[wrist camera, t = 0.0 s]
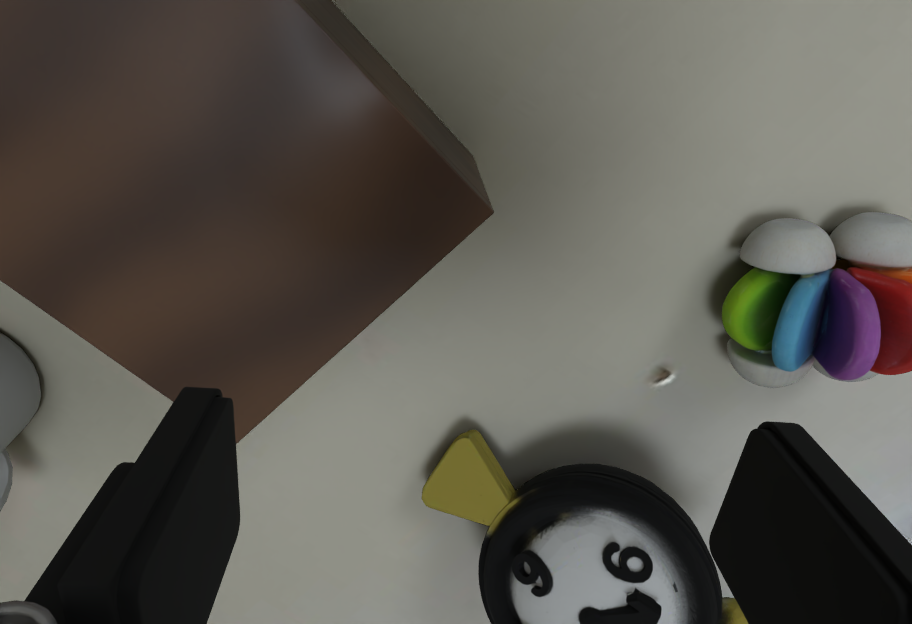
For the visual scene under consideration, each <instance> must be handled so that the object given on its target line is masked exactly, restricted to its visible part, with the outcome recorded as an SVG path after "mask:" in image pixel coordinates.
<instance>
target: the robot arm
mask: <svg viewBox="0 0 912 624" xmlns="http://www.w3.org/2000/svg"><path fill="white" fill-rule="evenodd" d="M239 525H240V505H239V489H238V472H237V456H236V440H235V423H234V407H233V401H232V399H231V398H225V397H223V396H222V392H221V390H220V389H217V388H201V387H184V388H183V389H182V390H181V392H180V393H179V395H178V396H177V398H176V399H175V401H174V402H173V404H172V406H171V407H170V409H169V410H168V412H167V413H166V415H165V417H164V418H163V420H162V421H161V423H160V424H159V426H158V427H157V429H156V431H155V432H154V434H153V435H152V437H151V438H150V440H149V442H148V443H147V445H146V446H145V448H144V449H143V451H142V452H141V454H140V456H139V457H138V459H137V460H136V462H135V463H127V462H123V463H121V464H119V465H117V467H116V468H115V469H114V470H113V471H112V472H111V474H110V475H109V477H108V478H107V480H106V481H105V483H104V484H103V486H102V487H101V489H100V490H99V492H98V493H97V495H96V496H95V497H94V499H93V500H92V502H91V503H90V505H89V506H88V508H87V509H86V511H85V512H84V514H83V515H82V517H81V518H80V520H79V521H78V523H77V524H76V526H75V527H74V528H73V530H72V531H71V533H70V534H69V536H68V537H67V539H66V540H65V542H64V543H63V545H62V546H61V548H60V549H59V551H58V552H57V554H56V555H55V557H54V558H53V559H52V561H51V562H50V564H49V565H48V567H47V568H46V570H45V571H44V573H43V574H42V576H41V577H40V579H39V580H38V582H37V583H36V585H35V586H34V588H33V589H32V590H31V592H30V593H29V595H28V596H27V598H26V599H25V601H9V602H2V603H0V624H207V621H208V618H209V615H210V612H211V610H212V607H213V604H214V601H215V598H216V595H217V593H218V590H219V587H220V584H221V581H222V578H223V576H224V573H225V570H226V567H227V564H228V561H229V559H230V556H231V553H232V550H233V547H234V544H235V542H236V539H237V535H238V531H239ZM709 544H710V551H711V554H712V556H713V558H714V560H715V562H716V564H717V566H718V568H719V570H720V571H721V573H722V575H723V577H724V579H725V581H726V583H727V585H728V586H729V588H730V590H731V592H732V594H733V596H734V598H735V599H736V601H737V603H738V605H739V607H740V609H741V611H742V612H743V614H744V616H745V618H746V620H747V622H748V624H912V545H911V544H910V543H909V542H908V541H907V540H906V539H905V538H904V537H903V535H902V534H901V533H900V532H899V531H898V530H897V529H896V528H895V527H894V526H893V525H892V524H891V523H890V521H889V520H888V519H887V518H886V517H885V516H884V515H883V514H882V513H881V512H880V511H879V510H878V508H877V507H876V506H875V505H874V504H873V503H872V502H871V501H870V500H869V499H868V498H867V497H866V495H865V494H864V493H863V492H862V491H861V490H860V489H859V488H858V487H857V486H856V485H855V484H854V482H853V481H852V480H851V479H850V478H849V477H848V476H847V475H846V474H845V473H844V472H843V471H842V470H841V468H840V467H839V466H838V465H837V464H836V463H835V462H834V461H833V460H832V459H831V458H830V457H829V455H828V454H827V453H826V452H825V451H824V450H823V449H822V448H821V447H820V446H819V445H818V444H817V442H816V441H815V440H814V439H813V438H812V437H811V436H810V435H809V434H808V433H807V432H806V431H805V429H804V428H803V427H801V426H800V425H799V424H795V423H783V422H763V423H762V424H761V425H759V427H758V429H754V430H752V431H751V432H750V434H749V436H748V439H747V441H746V444H745V446H744V449H743V452H742V454H741V457H740V459H739V462H738V464H737V467H736V470H735V472H734V475H733V477H732V480H731V483H730V485H729V488H728V490H727V493H726V495H725V498H724V501H723V503H722V506H721V508H720V511H719V514H718V516H717V519H716V521H715V524H714V527H713V529H712V532H711V535H710V540H709Z"/></svg>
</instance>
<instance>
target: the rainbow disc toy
mask: <svg viewBox="0 0 912 624" xmlns="http://www.w3.org/2000/svg"><path fill="white" fill-rule="evenodd" d="M836 256H838V257H842V258H844V259H840V260H836ZM740 257H741V259H742V260H743V261H744V262H746V263H747V264H749V265H752V266H754V267H755V268H753V269H751V270H750V271H749V272H748V273H746V274H745V275H744V276H743V277H742V278H741V279H740V280H739V281H738V282H737V283H736V284H735V285H734V286H733V287H732V289H731V290H730V292H729V293H728V295H727V297H726V299H725V301H724V303H723V307H722V321H723V325H724V328H725V330H726V332H727V333H728V334H729V336H730V337H731V338H730V340H729V341H728V344H727V351H728V356H729V359H730V362H731V364H732V366H733V367H734V369H735V370H736V371H737V372H738V373H739V374H740V375H741V376H742V377H743V378H745V379H746V380H748V381H749V382H751V383H753V384H756V385H759V386H763V387H771V388H776V387H783V386H787V385H790V384H793V383H795V382H797V381H798V380H800V379H801V378H803V377H804V376H805V375H806V374H807V373H808V372H809V370H810V369H811V367H812V366H813V367H814V368H815V369H816V370H817V371H819V372H820V373H822V374H823V375H825V376H827V377H830V378H832V379H836V380H840V381H846V382H856V381H863V380H866V379H870V378H872V377H874V376H876V375H878V374H884V375H896V374H902V373H907V372H910V371H912V221H911V220H909V219H907V218H905V217H902V216H899V215H895V214H889V213H880V212H865V213H860V214H857V215H855V216H852V217H850V218H848V219H846V220H845V221H843V222H842V223H841V224H839V225H838V226H837V227H836V228H835V229H834V231H833V232H832V233H831V235H830V236H828V234H827V233H826V232H825V231H824V230H823V229H822V228H821V227H819V226H818V225H816V224H814V223H812V222H810V221H806V220H801V219H795V218H780V219H774V220H771V221H768V222H766V223H764V224H762V225H760V226H759V227H757V228H756V229H755V230H753V231H752V232H751V233H750V234H749V236H748V237H747V238H746V240H745V242H744V243H743V245H742V248H741V250H740ZM831 268H832V269H831Z"/></svg>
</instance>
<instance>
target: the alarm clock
mask: <svg viewBox="0 0 912 624" xmlns="http://www.w3.org/2000/svg"><path fill="white" fill-rule="evenodd" d="M422 500H423V502H424V503H425V505H426V506H428V507H430V508H433V509H436V510H439V511H442V512H445V513H449V514H452V515H455V516H458V517H461V518H464V519H467V520H471V521H474V522H477V523H480V524H484V525H487V526H489V528H488V531H487V533H486V536H485V539H484V541H483V544H482V548H481V553H480V559H479V585H480V591H481V596H482V601H483V604H484V607H485V610H486V613H487V615H488V618H489V620H490V622H491V624H748V622H747V620H746V618H745V616H744V614H743V612H742V611H741V609H740V607H739V605H738V603H737V601H736V599H735V598H729V597H724V598H722V592H721V586H720V581H719V577H718V573H717V570H716V567H715V564H714V562H713V559H712V557H711V555H710V553H709V551H708V549H707V546H706V544H705V542H704V541H703V539H702V537H701V535H700V533H699V531H698V529H697V528H696V526H695V524H694V523H693V521H692V520H691V518H690V517H689V516H688V515H687V514H686V512H685V511H684V510H683V509H682V508H681V507H680V506H679V505H678V504H677V502H676V501H675V500H674V499H673V498H671V497H670V496H669V495H668V494H666V493H665V492H664V491H662V490H661V489H660V488H659V487H657V486H656V485H655V484H653V483H652V482H650V481H648V480H647V479H645V478H643V477H641V476H638V475H636V474H633V473H631V472H629V471H626V470H623V469H620V468H617V467H612V466H606V465H601V464H576V465H569V466H562V467H559V468H556V469H552V470H549V471H547V472H545V473H543V474H541V475H538V476H537V477H535V478H533V479H531V480H530V481H528V482H527V483H525V484H524V485H523V486H521V487H520V488H519V489H517V490H516V491H515V489H514V488H513V486H512V484H511V483H510V481H509V480H508V478H507V477H506V475H505V473H504V471H503V470H502V468H501V466H500V465H499V463H498V461H497V460H496V458H495V457H494V455H493V453H492V451H491V450H490V448H489V447H488V445H487V444H486V442H485V440H484V439H483V437H482V436H481V434H480V432H478V431H477V430H469V431H467V432H466V433H462V434H460V435H459V436H458V437H456V439H455V440H454V441H453V442H452V444H451V445H450V447H449V448H448V449H447V451H446V452H445V454H444V455H443V457H442V458H441V460H440V461H439V463H438V464H437V466H436V467H435V469H434V470H433V472H432V473H431V475H430V476H429V478H428V480H427V482H426V483H425V485H424V487H423V491H422Z"/></svg>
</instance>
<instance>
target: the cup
mask: <svg viewBox="0 0 912 624" xmlns="http://www.w3.org/2000/svg"><path fill="white" fill-rule="evenodd" d="M40 399H41V390H40V382H39V376H38V374H37V371H36V369H35V367H34V365H33V362H32V361H31V360H30V359H29V357H28V356H27V355H26V354H25V352H24V351H23V350H22V349H21V348H20V347H19V346H18V345H17V344H15V343H14V342H13V341H12V340H11V339H10V338H8V337H7V336H5V335H3V334H2V333H0V511H1V509H2V508H3V506H4V504H5V503H6V501H7V498H8V495H9V492H10V489H11V486H12V468H13V467H12V464H11V461H10V457H9V454H8V452H7V451H6V449H5V448H6V447H7V446H8V445H9V444H10V442H11V441H12V440H13V439H14V438H15V437H16V436H17V435H18V434H19V433H20V432H21V431H22V430H23V429H24V428H25V426H26V425H27V424H28V423H29V421H30V420H31V419H32V417H33V416H34V414H35V413H36V411H37V410H38V407H39V403H40Z"/></svg>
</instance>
